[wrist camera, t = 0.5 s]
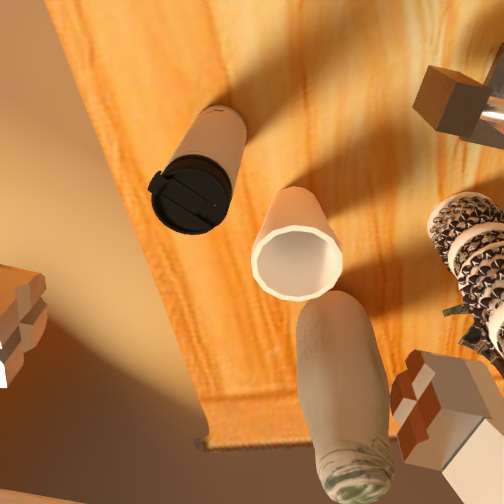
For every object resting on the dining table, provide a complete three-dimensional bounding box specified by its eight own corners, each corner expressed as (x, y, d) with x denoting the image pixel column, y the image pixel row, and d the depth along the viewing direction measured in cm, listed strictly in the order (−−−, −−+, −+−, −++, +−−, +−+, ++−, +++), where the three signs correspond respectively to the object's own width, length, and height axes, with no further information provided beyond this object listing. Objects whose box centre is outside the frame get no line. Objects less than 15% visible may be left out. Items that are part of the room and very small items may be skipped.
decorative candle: (413, 208, 55) (494, 352, 33) (489, 175, 52) (630, 311, 31) (435, 262, 59) (520, 421, 37) (507, 234, 56) (643, 390, 35)
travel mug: (211, 90, 49) (171, 149, 32) (258, 126, 50) (244, 200, 34) (182, 134, 51) (131, 209, 35) (227, 166, 53) (200, 253, 36)
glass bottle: (338, 340, 67) (366, 536, 44) (283, 311, 65) (281, 502, 41) (380, 298, 62) (438, 493, 39) (322, 265, 60) (347, 451, 36)
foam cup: (297, 159, 52) (300, 207, 41) (346, 209, 55) (361, 266, 44) (242, 208, 56) (232, 264, 45) (291, 252, 59) (292, 314, 48)
